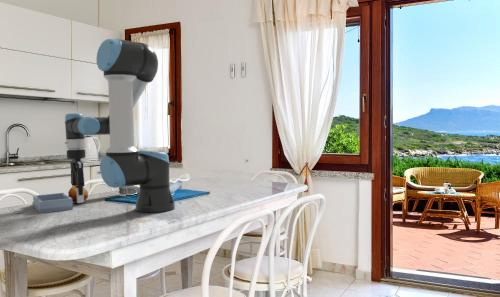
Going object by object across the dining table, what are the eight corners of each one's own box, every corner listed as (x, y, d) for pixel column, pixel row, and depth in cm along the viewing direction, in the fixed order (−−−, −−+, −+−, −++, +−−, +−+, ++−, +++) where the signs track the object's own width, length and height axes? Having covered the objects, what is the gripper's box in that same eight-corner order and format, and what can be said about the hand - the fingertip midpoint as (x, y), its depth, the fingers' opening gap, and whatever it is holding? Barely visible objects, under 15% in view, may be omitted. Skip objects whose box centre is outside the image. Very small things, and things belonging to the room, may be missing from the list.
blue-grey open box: (62, 202, 197) (61, 192, 196) (72, 209, 178) (72, 198, 178) (32, 205, 190) (32, 194, 190) (40, 213, 172) (39, 201, 171)
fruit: (73, 196, 198) (80, 181, 196) (86, 206, 196) (93, 191, 194) (60, 199, 190) (67, 184, 189) (73, 209, 188) (80, 193, 187)
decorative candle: (114, 196, 211) (112, 143, 209) (125, 193, 220) (123, 142, 218) (130, 196, 208) (129, 143, 207) (141, 193, 217) (139, 142, 215)
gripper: (62, 149, 198) (64, 199, 199) (71, 150, 181) (74, 205, 182) (79, 148, 202) (81, 197, 203) (90, 149, 185) (93, 203, 186)
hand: (78, 201), depth 192 cm, fingers closed on fruit, 8 cm apart
